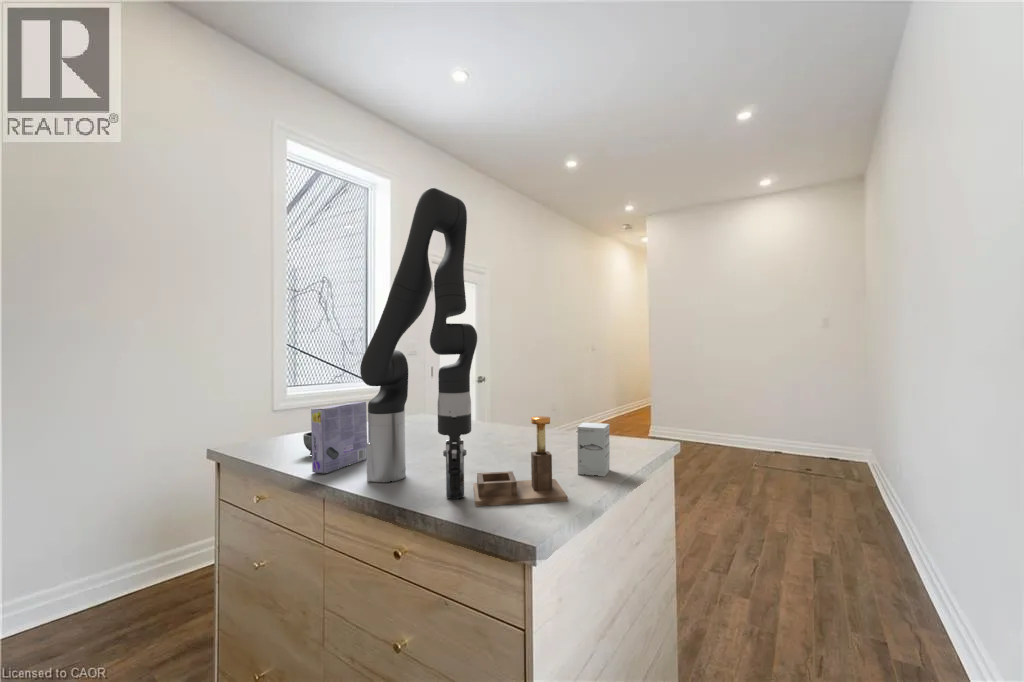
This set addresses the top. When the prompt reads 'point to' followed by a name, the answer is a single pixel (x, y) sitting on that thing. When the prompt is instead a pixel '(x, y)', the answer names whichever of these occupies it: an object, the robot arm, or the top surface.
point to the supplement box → (593, 449)
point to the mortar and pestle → (308, 441)
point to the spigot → (461, 492)
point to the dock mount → (520, 485)
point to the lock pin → (540, 432)
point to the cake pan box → (338, 436)
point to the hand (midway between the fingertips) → (455, 487)
